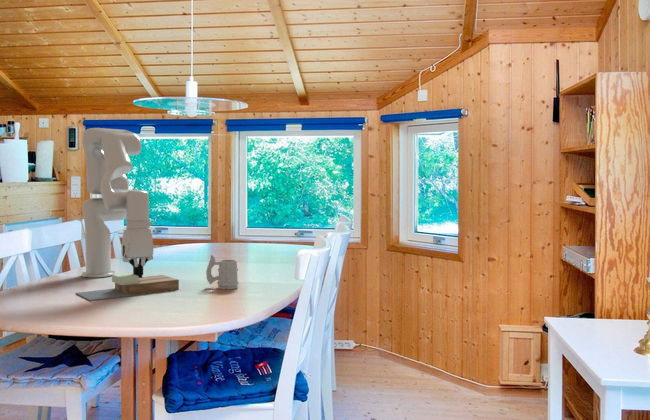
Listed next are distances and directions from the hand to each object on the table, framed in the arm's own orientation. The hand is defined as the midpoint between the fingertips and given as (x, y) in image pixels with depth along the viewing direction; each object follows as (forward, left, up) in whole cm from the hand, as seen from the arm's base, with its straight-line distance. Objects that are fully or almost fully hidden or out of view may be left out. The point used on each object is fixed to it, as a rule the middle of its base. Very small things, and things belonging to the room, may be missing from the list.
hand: (138, 277), depth 198 cm
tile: (0, -5, 0) cm, 5 cm away
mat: (0, -12, -5) cm, 13 cm away
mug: (+13, +26, -5) cm, 30 cm away
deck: (0, +3, -5) cm, 6 cm away
